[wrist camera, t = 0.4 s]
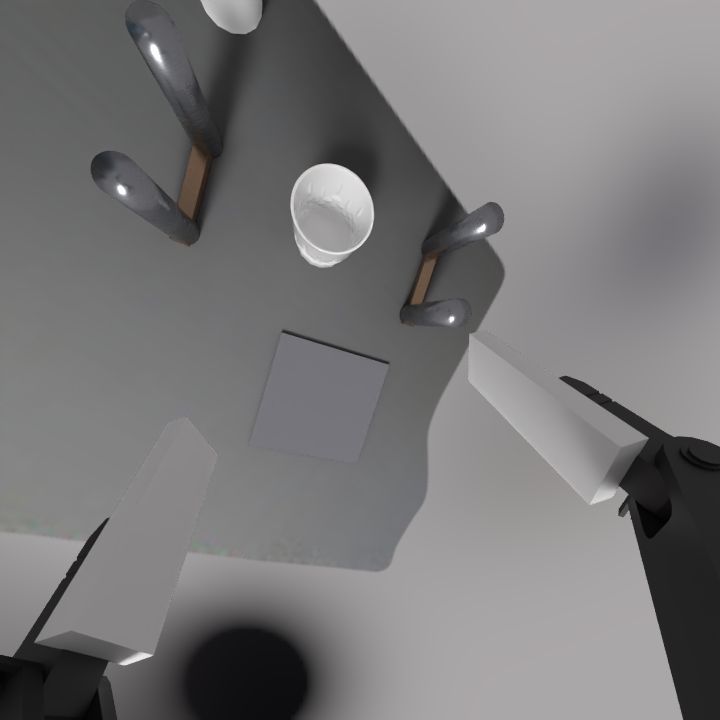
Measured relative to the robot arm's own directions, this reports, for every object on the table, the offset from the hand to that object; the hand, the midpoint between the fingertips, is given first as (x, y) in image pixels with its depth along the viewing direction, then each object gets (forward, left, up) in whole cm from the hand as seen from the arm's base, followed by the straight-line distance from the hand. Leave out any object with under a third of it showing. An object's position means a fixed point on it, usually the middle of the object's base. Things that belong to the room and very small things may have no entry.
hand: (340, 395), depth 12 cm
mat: (+7, -4, -24) cm, 26 cm away
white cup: (-9, +11, -24) cm, 28 cm away
